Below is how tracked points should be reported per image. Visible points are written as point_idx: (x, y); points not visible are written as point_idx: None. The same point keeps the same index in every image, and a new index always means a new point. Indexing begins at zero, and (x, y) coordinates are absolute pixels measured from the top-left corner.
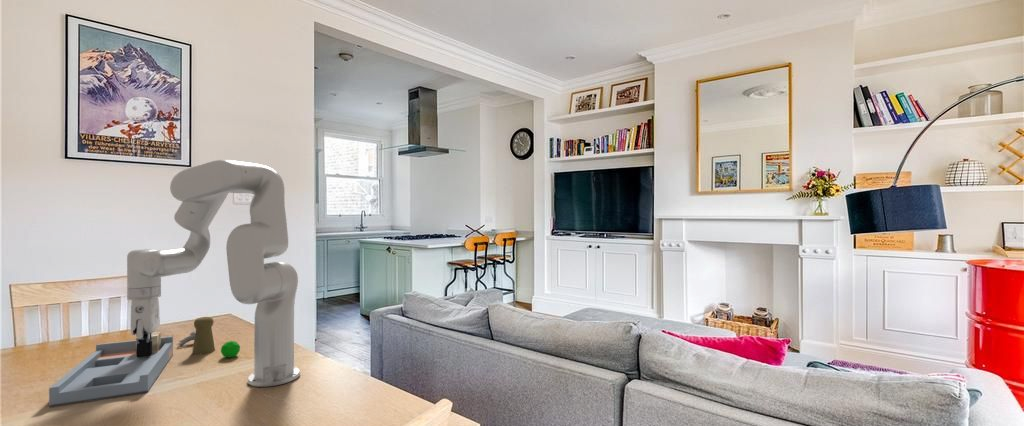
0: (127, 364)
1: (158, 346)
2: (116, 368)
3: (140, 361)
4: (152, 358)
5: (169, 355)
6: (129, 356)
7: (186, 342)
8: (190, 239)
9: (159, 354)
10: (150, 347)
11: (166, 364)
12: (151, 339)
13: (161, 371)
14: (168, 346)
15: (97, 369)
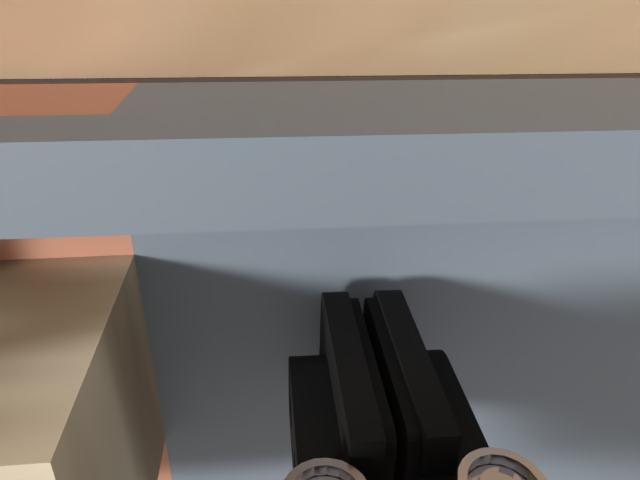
0: (527, 409)
1: (35, 297)
2: (607, 450)
3: (485, 333)
4: (430, 245)
5: (100, 94)
6: (203, 471)
7: None
8: None
9: (591, 179)
10: (428, 367)
11: (314, 77)
12: (304, 476)
13: (598, 75)
14: (108, 146)
15: None
